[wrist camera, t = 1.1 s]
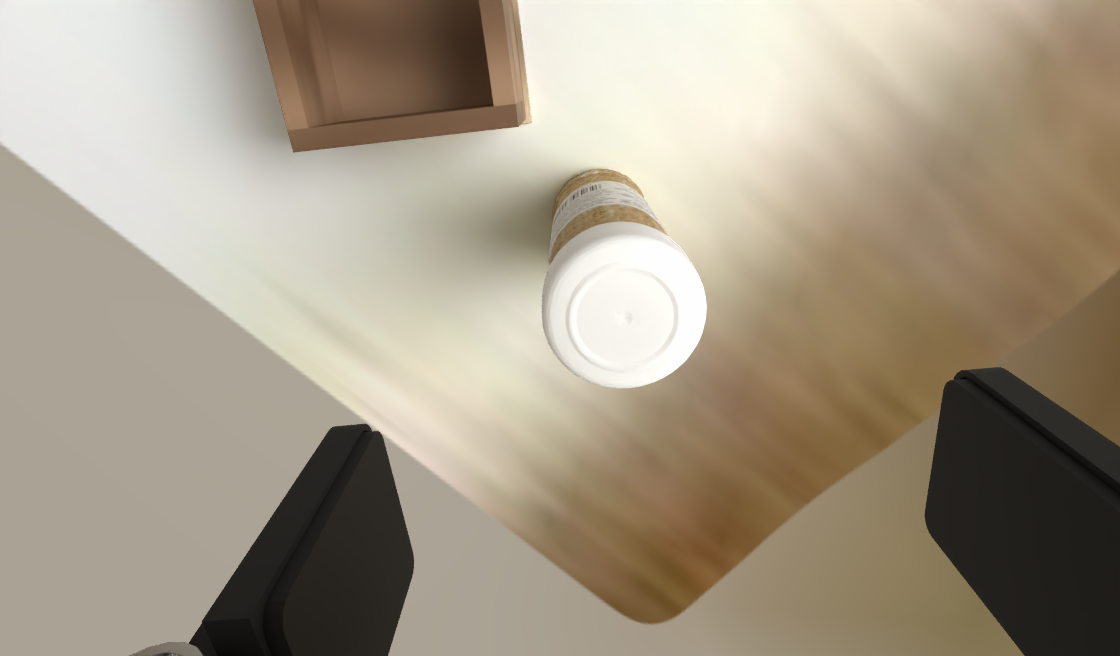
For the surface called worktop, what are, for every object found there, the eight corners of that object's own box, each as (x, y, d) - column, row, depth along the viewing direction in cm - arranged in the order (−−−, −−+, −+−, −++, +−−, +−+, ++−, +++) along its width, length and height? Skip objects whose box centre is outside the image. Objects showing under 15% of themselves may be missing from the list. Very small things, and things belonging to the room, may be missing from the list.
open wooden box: (280, -88, 24) (213, -127, 20) (502, -118, 24) (487, -165, 19) (336, 144, 28) (289, 158, 23) (531, 122, 27) (524, 131, 23)
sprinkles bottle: (573, 275, 30) (576, 415, 18) (537, 188, 28) (513, 274, 16) (661, 241, 29) (730, 362, 17) (629, 150, 28) (679, 209, 15)
